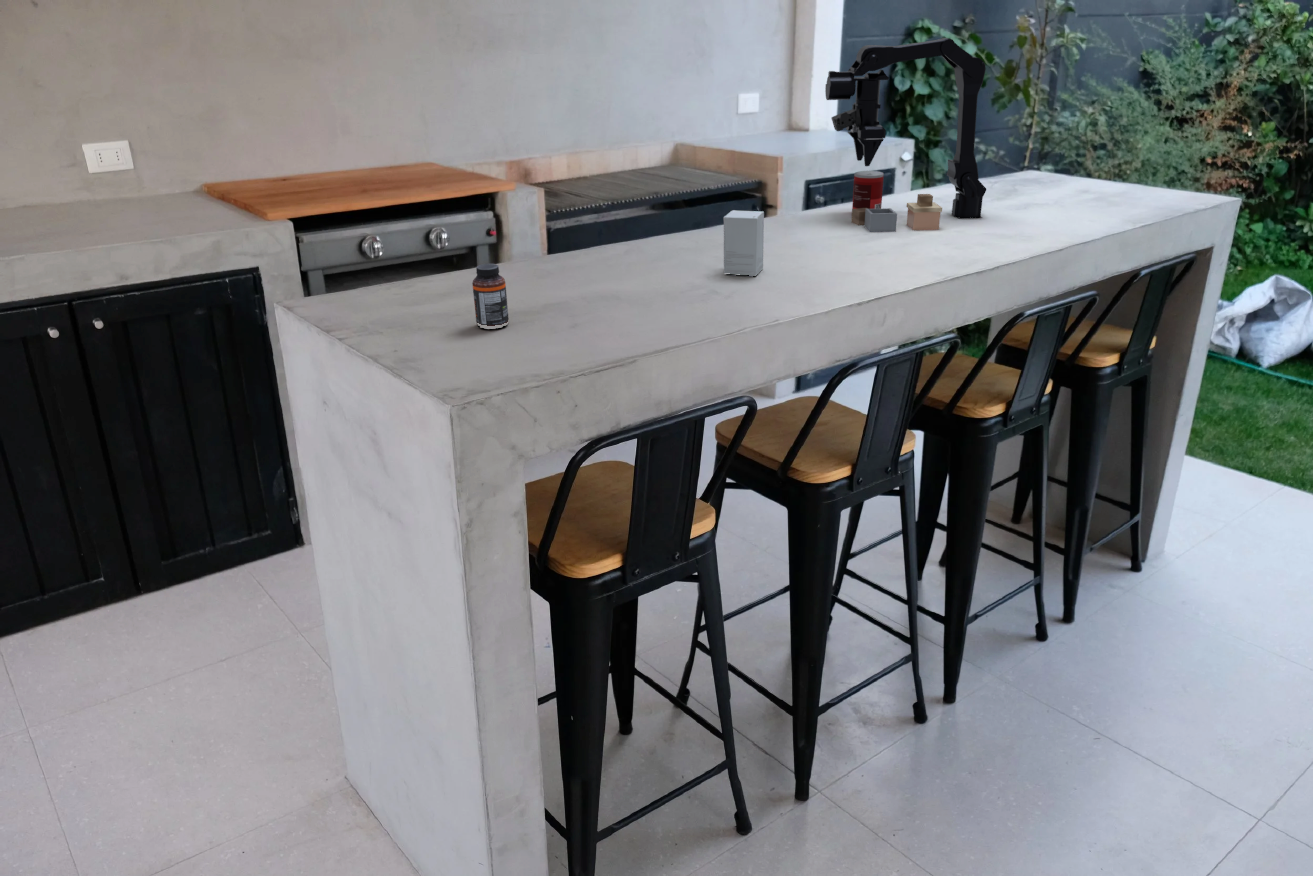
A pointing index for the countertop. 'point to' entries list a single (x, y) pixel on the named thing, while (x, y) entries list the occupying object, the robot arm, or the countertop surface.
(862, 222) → the walnut block
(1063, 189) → the countertop surface
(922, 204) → the lid
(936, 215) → the pot
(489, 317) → the supplement bottle
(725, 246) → the supplement box
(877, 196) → the canned food
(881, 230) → the grey open square bin
